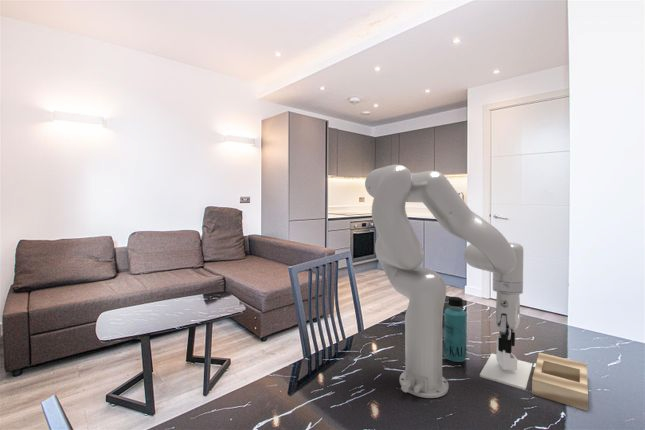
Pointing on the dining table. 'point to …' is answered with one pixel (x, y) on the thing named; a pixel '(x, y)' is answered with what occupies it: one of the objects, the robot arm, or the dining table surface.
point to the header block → (561, 380)
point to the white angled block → (506, 359)
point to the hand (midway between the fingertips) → (506, 347)
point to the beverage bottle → (455, 331)
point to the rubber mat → (507, 373)
